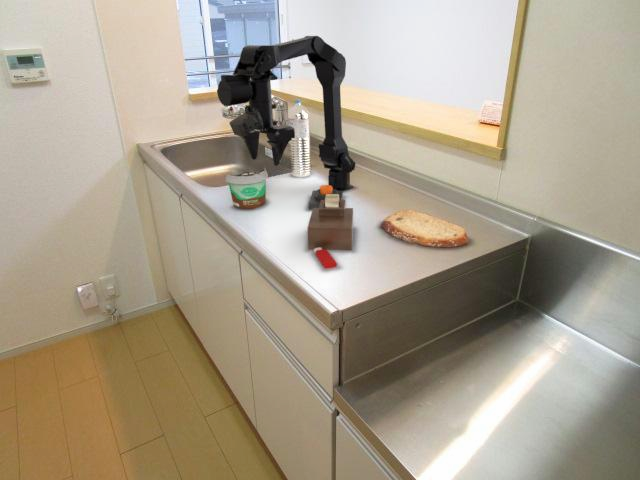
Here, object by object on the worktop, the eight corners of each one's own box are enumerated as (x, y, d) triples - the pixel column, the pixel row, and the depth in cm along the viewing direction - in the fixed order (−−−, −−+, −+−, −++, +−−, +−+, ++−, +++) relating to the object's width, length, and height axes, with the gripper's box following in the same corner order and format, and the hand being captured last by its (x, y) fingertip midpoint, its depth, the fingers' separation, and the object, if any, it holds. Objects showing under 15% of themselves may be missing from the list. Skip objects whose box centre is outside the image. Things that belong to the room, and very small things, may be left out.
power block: (313, 196, 136) (312, 185, 134) (342, 196, 135) (342, 185, 133) (308, 210, 126) (308, 198, 124) (341, 210, 125) (340, 198, 124)
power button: (320, 190, 131) (320, 184, 130) (332, 190, 130) (332, 184, 130) (319, 195, 128) (319, 189, 127) (332, 195, 127) (331, 189, 126)
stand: (314, 227, 115) (313, 199, 112) (353, 227, 114) (353, 200, 111) (308, 250, 104) (307, 220, 101) (351, 250, 103) (352, 220, 100)
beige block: (326, 203, 111) (326, 194, 110) (339, 203, 110) (339, 194, 109) (325, 208, 108) (325, 198, 107) (338, 208, 107) (338, 198, 106)
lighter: (324, 264, 95) (313, 248, 102) (324, 269, 95) (313, 253, 102) (336, 262, 96) (325, 246, 102) (336, 267, 96) (325, 251, 103)
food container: (235, 214, 124) (231, 179, 120) (228, 207, 129) (224, 174, 125) (276, 205, 129) (274, 172, 125) (268, 199, 134) (266, 166, 130)
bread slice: (473, 245, 103) (475, 230, 102) (398, 253, 101) (399, 238, 100) (442, 215, 119) (444, 202, 118) (377, 221, 117) (377, 208, 116)
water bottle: (311, 177, 152) (308, 101, 142) (290, 178, 153) (286, 101, 142) (311, 171, 159) (308, 97, 148) (292, 171, 159) (288, 98, 148)
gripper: (211, 101, 112) (219, 162, 119) (257, 109, 100) (263, 176, 107) (247, 95, 119) (252, 154, 126) (294, 102, 107) (297, 166, 114)
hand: (265, 162), depth 118 cm, fingers open, 9 cm apart
